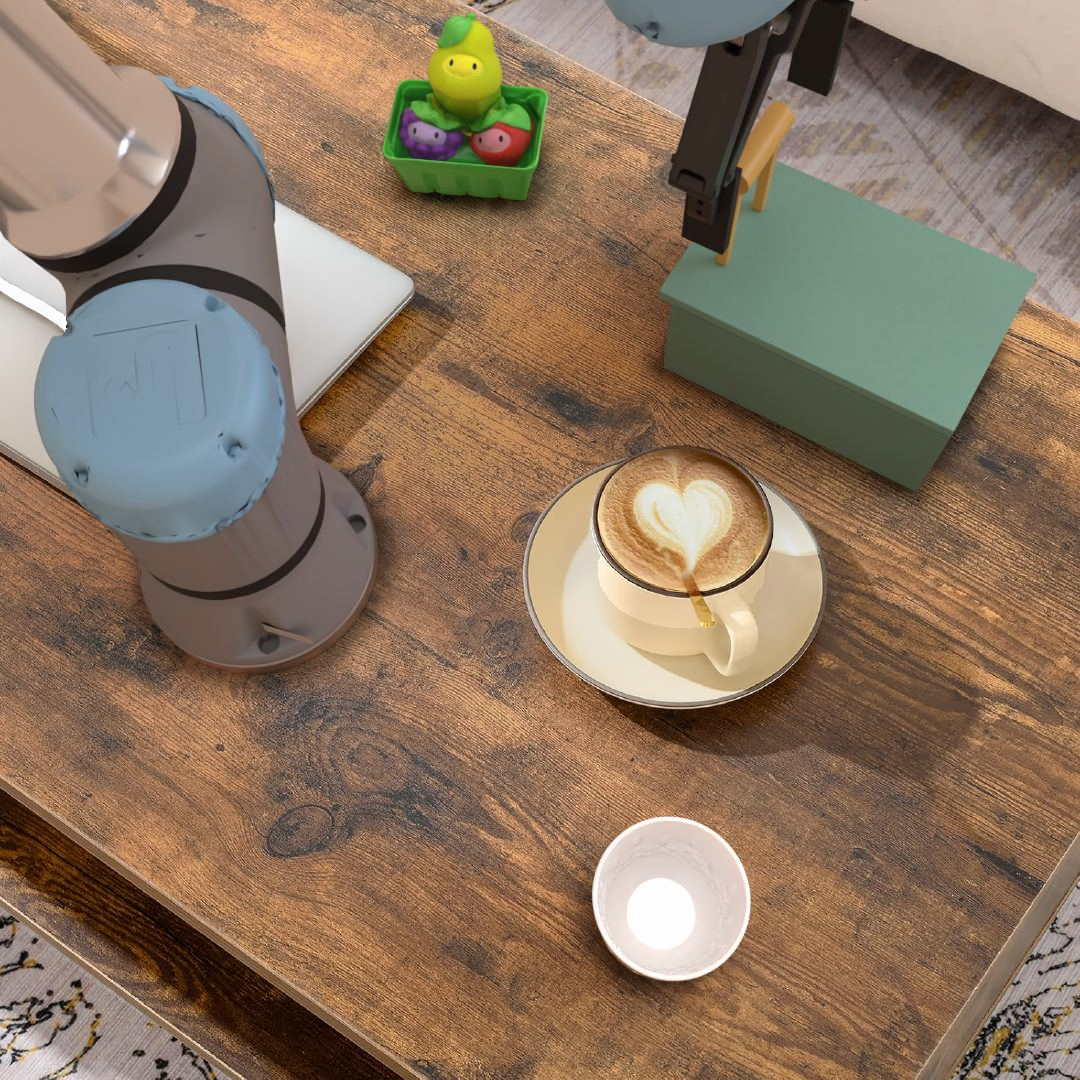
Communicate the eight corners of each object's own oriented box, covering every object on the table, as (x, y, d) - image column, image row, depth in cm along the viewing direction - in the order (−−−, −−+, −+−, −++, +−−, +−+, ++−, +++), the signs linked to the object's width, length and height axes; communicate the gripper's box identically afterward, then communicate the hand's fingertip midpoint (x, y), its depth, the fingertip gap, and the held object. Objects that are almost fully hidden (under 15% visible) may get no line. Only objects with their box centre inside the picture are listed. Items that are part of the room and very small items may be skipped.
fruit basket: (390, 204, 88) (364, 92, 77) (410, 114, 91) (388, -4, 81) (538, 216, 87) (533, 105, 77) (553, 125, 90) (550, 7, 80)
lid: (657, 298, 75) (668, 198, 66) (751, 158, 79) (773, 47, 70) (950, 438, 70) (1003, 351, 61) (1033, 281, 74) (1094, 179, 66)
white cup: (562, 902, 67) (560, 881, 58) (667, 818, 69) (680, 785, 60) (649, 1018, 65) (661, 1015, 56) (755, 928, 67) (783, 911, 57)
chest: (662, 367, 81) (670, 304, 74) (749, 235, 86) (764, 164, 79) (916, 492, 77) (949, 438, 70) (993, 346, 81) (1032, 281, 74)
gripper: (772, 39, 45) (716, 341, 64) (1021, -319, 53) (904, 46, 72) (604, -29, 47) (599, 285, 66) (869, -365, 55) (795, 3, 74)
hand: (758, 161), depth 69 cm, fingers open, 13 cm apart
